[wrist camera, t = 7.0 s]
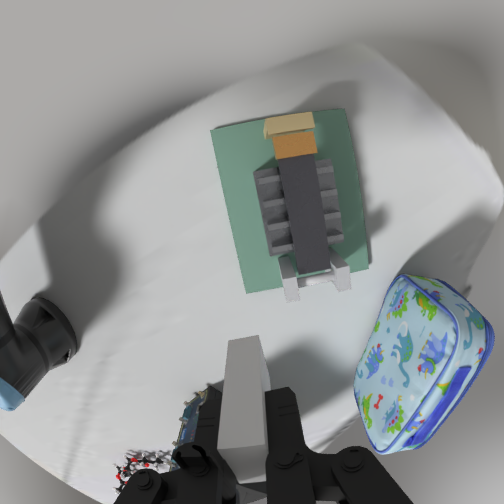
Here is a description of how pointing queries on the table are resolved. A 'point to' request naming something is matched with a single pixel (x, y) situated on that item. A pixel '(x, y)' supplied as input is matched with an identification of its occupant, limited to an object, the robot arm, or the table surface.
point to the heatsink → (277, 211)
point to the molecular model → (129, 472)
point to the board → (248, 209)
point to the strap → (303, 200)
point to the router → (187, 434)
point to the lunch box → (418, 362)
